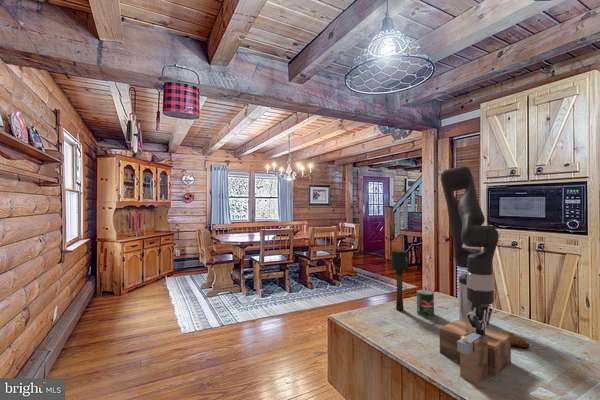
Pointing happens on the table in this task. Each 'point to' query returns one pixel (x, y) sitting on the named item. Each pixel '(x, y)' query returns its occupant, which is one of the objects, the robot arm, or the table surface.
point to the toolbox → (476, 356)
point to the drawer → (467, 343)
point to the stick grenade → (399, 273)
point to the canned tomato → (425, 303)
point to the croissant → (516, 340)
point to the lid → (462, 328)
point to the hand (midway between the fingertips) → (480, 339)
